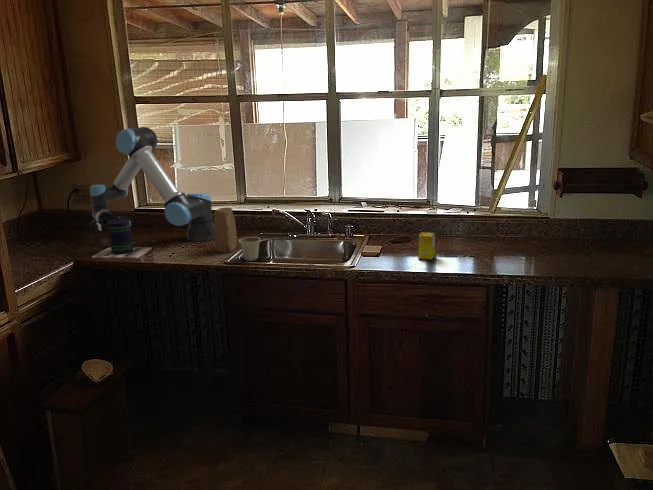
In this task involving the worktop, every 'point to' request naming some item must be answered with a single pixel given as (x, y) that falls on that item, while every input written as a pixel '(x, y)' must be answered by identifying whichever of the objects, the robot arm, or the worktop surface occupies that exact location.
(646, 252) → the worktop surface
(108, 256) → the board
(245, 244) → the flower pot
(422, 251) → the supplement box
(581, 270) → the worktop surface
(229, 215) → the block
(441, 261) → the worktop surface
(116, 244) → the dark blue can
